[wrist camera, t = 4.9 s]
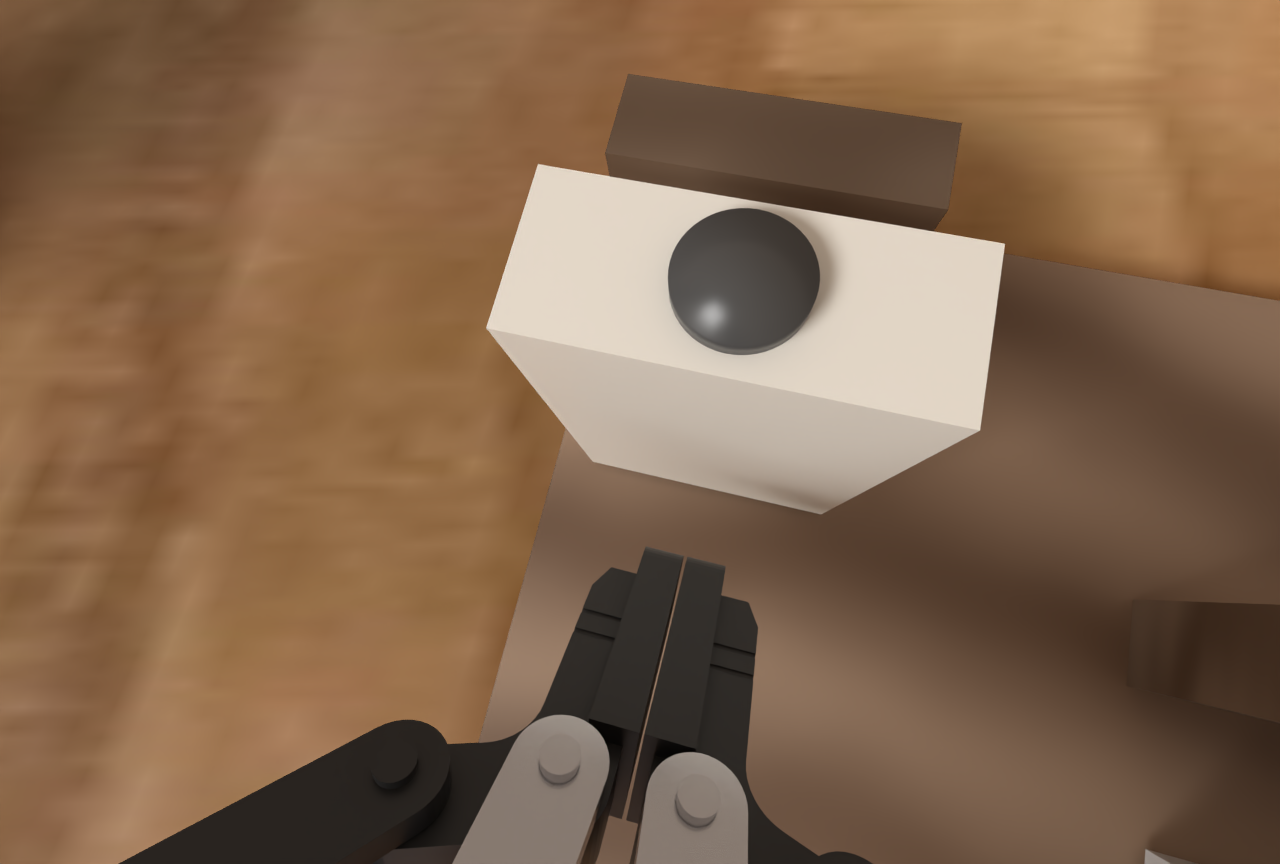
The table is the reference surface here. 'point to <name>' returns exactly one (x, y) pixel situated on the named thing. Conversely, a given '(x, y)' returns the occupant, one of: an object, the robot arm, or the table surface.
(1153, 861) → the tile two
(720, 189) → the brown piece
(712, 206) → the tile one
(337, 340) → the table surface
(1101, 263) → the table surface
